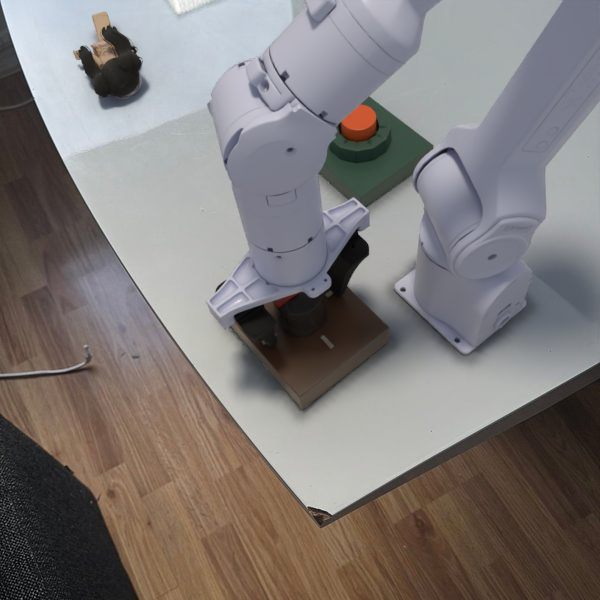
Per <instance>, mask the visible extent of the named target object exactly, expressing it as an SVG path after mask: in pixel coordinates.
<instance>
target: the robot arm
mask: <svg viewBox="0 0 600 600" xmlns="http://www.w3.org/2000/svg"><path fill="white" fill-rule="evenodd" d="M442 1H443V0H304V3H305V5H306V6H305V7H303V9H302V10H301V11H300V12H299V13H298V14H297V15H296V16H295V17H294V19H293V20H292V21H291V22H290V23H289V24H288V25H287V26H286V27H285V28H284V29H283V30H282V31H281V32H280V34H279V35H278V36H276V38H275V39H274V40H273V41H272V42H271V44H269V45H268V46H267V48H266V49H265V50H264V51H263V52H262V53H261V54H260V55H256V56H254V57H252V58H251V57H250V58H248V59H247V58H246V59H243V60H241V61H239V62H236V63H234V64H233V65H231V66H230V67H229V68H228V69H226V70H225V72H224V73H223V74H222V75H221V76H220V77H219V78H218V79H217V80H216V82H215V84H214V86H213V87H212V90H211V92H210V97H211V99H209V100H208V101H207V103H206V107H207V109H208V112H209V114H210V117H212V121H213V125H214V130H215V133H216V134H215V135H216V137H217V142H218V145H219V150H220V154H221V159H222V162H223V166H224V169H225V171H226V172H227V176H228V179H229V181H230V182H231V191H232V193H233V197H234V200H235V204H236V207H237V211H238V215H239V218H240V223H241V225H242V229H243V232H244V235H245V239H246V242H247V245H248V249H249V250H248V251H247V252H246V253H245V254H244V256H243V257H242V258H241V260H240V262H239V263H238V264H237V266H236V267H235V268H234V269H233V271H232V272H231V273H230V275H228V277H227V278H226V279H225V280H223V281H222V282H220V283H219V284H218V285H217V286H216V288H215V291H214V293H213V294H212V295H210V296H209V297H208V298H207V299H206V300H205V303H206V305H207V308H208V310H209V312H210V314H211V316H212V317H213V318H214V319H215V320H216V322H218V324H219V325H220V326H221V327H222V328H223V330H227V329H228V328H231V325H232V324H234V323H235V321H236V322H237V323H238V325H239V326H240V327H241V328H242V329H243V330H244V332H245V333H246V334H247V335H249V336H250V337H252V338H253V339H256V338H261V339H263V340H264V341H265V343H266V344H267V345H268V346H269V347H270V348H272V347H273V346H275V345H276V344H277V338H276V335H275V325H276V323H277V321H276V320H275V319H274V317H273V316H272V315H271V314H270V313H269V312H268V311H267V310H266V309H265V307H264V304H266V303H269V302H272V301H275V300H278V299H281V298H284V297H287V296H290V295H293V294H296V293H299V292H304V293H306V294H307V295H308V296H309V297H311V298H315V297H318V296H319V295H320V294H322V293H323V292H324V291H326V290H327V289H328V288H329V289H330V290H331V291H332V292H333V293H334V294H335V295H336V296H337V297H338V298H339V297H341V296H342V295H343V294H344V293H345V290H346V288H347V287H349V286H348V285H349V283H350V282H351V281H350V280H351V279H352V276H353V274H354V273H355V272H356V270H357V268H358V267H359V265H360V264H361V263H362V262H363V261H364V260H366V259H367V258H368V257H369V256H370V245H369V243H368V242H367V240H366V239H365V238H363V237H362V236H361V235H360V234H359V232H363V231H365V230H366V229H368V228H369V227H370V226H371V224H370V223H371V215H370V214H371V212H370V209H368V208H367V207H364V206H363V205H362V204H361V203H360V202H359V201H358V200H356V199H355V198H354V197H353V198H351V199H350V200H349V199H347V201H345V202H343V203H341V204H339V205H336V206H333V207H330V208H327V209H324V210H323V204H322V203H323V202H322V194H321V184H320V174H319V172H320V170H321V169H322V167H323V165H324V163H325V160H326V157H327V149H328V146H329V144H330V143H331V142H332V141H333V140H334V139H335V138H336V136H335V134H336V133H337V129H336V127H337V125H338V124H339V123H340V122H341V121H343V120H344V119H345V118H346V117H347V116H348V115H349V114H350V113H351V112H353V111H354V110H355V109H356V108H357V107H358V106H359V105H360V104H361V103H362V102H364V101H365V100H366V99H367V98H368V97H371V95H373V94H374V93H375V92H376V91H377V90H378V89H379V88H380V87H381V86H383V84H385V83H386V82H387V81H388V80H389V79H390V78H391V77H392V76H393V75H394V74H395V73H397V72H398V71H399V70H400V69H401V68H403V66H404V65H406V63H408V61H410V60H411V59H412V58H413V57H414V56H415V55H417V53H418V52H419V50H420V47H421V44H422V43H421V42H422V36H423V30H424V23H425V19H426V16H427V13H428V12H430V11H432V9H434V8H435V7H436V6H437V5H438V4H439V3H440V2H442ZM599 103H600V0H562V1H561V3H560V4H559V6H558V7H557V9H556V10H555V11H554V13H553V14H552V15H551V18H550V19H549V20H548V22H547V23H546V25H545V27H544V28H543V30H542V31H541V32H540V34H539V35H538V37H537V38H536V40H535V42H533V44H532V46H531V47H530V49H529V50H528V52H527V53H526V55H525V57H524V58H523V60H522V61H521V62H520V64H519V65H518V67H517V69H516V70H515V71H514V73H513V74H512V76H511V77H510V79H509V81H508V82H506V85H505V86H504V88H503V89H502V91H501V92H500V94H499V95H498V97H497V98H496V99H495V101H494V103H493V104H492V106H491V107H490V108H489V110H488V112H487V114H485V116H484V118H483V119H482V121H481V122H469V123H468V122H467V123H460V124H455V125H452V126H451V127H450V129H449V130H448V132H447V134H446V135H445V137H444V138H443V139H442V140H441V141H440V143H438V144H437V145H435V147H433V150H431V151H430V152H429V153H427V154H426V155H425V156H424V157H423V158H422V159H421V160H420V162H419V163H418V164H417V166H416V167H415V169H414V172H413V174H412V175H411V176H412V177H411V183H412V186H413V188H414V190H415V192H416V193H417V194H418V195H419V197H420V199H421V202H422V204H423V215H422V218H421V221H420V225H419V233H418V240H417V241H418V243H417V253H416V260H415V261H416V263H415V267H414V269H412V270H411V271H410V272H408V273H406V275H404V276H403V277H402V278H401V279H399V280H398V281H396V282H395V283H394V285H393V290H394V291H395V292H396V294H397V295H399V296H400V297H401V298H402V299H403V300H404V301H405V302H406V303H407V304H408V305H409V306H411V308H412V309H414V310H415V311H416V312H417V313H418V314H419V315H420V316H421V317H422V318H423V319H424V320H425V321H427V323H428V324H429V325H431V327H432V328H434V329H435V330H436V331H437V332H438V333H439V334H440V335H441V336H442V337H443V338H444V339H446V341H448V343H449V344H451V345H452V346H453V347H454V348H455V349H456V350H457V351H459V353H460V354H462V355H469V354H470V353H472V352H473V351H475V349H476V348H477V347H479V346H480V345H481V344H483V343H484V342H485V341H486V340H487V339H488V338H490V337H491V336H492V335H493V334H494V333H496V332H497V331H498V330H500V329H501V328H502V327H504V325H506V324H507V323H508V322H509V321H510V320H511V319H512V318H514V317H515V316H516V315H517V314H519V313H520V312H522V310H523V309H525V308H526V306H527V300H526V297H527V294H528V291H529V289H530V286H531V284H532V281H533V278H534V271H533V270H532V269H531V268H530V267H529V266H528V265H527V264H526V262H524V261H523V259H522V258H523V257H524V255H525V254H526V252H527V251H528V249H529V248H530V246H531V244H532V239H533V236H534V234H535V232H536V231H537V229H538V228H539V226H541V224H543V222H544V221H545V220H546V218H547V187H546V186H547V183H546V182H547V181H546V169H547V167H548V165H549V164H550V163H551V161H552V160H553V159H554V158H555V156H556V155H557V154H558V153H559V152H560V150H561V149H562V148H563V147H564V145H565V144H566V143H567V142H568V141H569V140H570V138H571V137H572V136H573V135H574V134H575V132H576V131H577V130H578V128H580V127H581V125H582V123H583V122H584V121H585V120H586V119H587V117H588V116H589V115H590V114H591V113H592V111H593V110H594V109H595V108H596V106H597V105H598V104H599ZM402 290H404V291H402ZM455 340H457V341H459V342H457V341H455Z"/></svg>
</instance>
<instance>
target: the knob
mask: <svg viewBox="0 0 600 600" xmlns="http://www.w3.org/2000/svg"><path fill="white" fill-rule="evenodd" d="M272 302H273V306H274V310H275V314H276V317H277V321H278V324H279V326H280V327H281V328H282V329H283V330H284V331H285V332H286V333H288V334H290V335H293V336H301V337H302V336H308V335H311V334H313V333H315V332H316V331H318V330H319V329H320V328H321V327H322V325H323V323H324V322H325V319H326V307H325V300H324V292H323V293H322V294H320V295H319V296H318V297H315V298H311V297H309V296H308V295H307V294H306V293H304V292H299V293H296V294H293V295H290V296H287V297H284V298H281V299H278V300H275V301H272Z"/></svg>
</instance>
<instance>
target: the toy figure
mask: <svg viewBox="0 0 600 600" xmlns="http://www.w3.org/2000/svg"><path fill="white" fill-rule="evenodd" d="M91 19H92V22H93V25H94V26H93V27H94V29H95V32H96V37H97V41H98V42H95V43H92V44H91V45H90V47H91V49H92V50H91V49H90V47H88V46H87V45H84V44H83V45H80V47H79V49H77V50H75V49H73V50H72V54H73V56H74V57H75V60H76V61H81V66H82V69H83V70H84V73H85V75H86V76H87V77H89V78H90V79H91V80H92V82H91V84H92V86H93V90H94V93H95V94H96V95H98V98H100V99H104V98H108V97H110V96H112V97H115V98H118V99H122V100H125V99H128V98H130V97H131V96H132V95H134V94H135V93H136V92H138V90H140V88H141V86H142V82H143V81H142V76H141V74H140V70H141V69H142V65H143V58H142V57H141V56H139V55H138V54H137V52H138V50H139V49H138V47H136V46H135V45H134V44H133V42H131V39H130V38H129V37H128V36H126V35H124V33H122V32H120V31H119V30H118V28H117V27H116V26H115V25H112V24H111V20H110V18H109V14H108V12H107V11H102V12H101V11H100V12H98V13H94V14H92V15H91ZM92 51H93V52H92Z"/></svg>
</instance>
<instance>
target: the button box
mask: <svg viewBox="0 0 600 600" xmlns="http://www.w3.org/2000/svg"><path fill="white" fill-rule="evenodd" d="M360 105H365V106H368V107H370V108H372V109H373V110H374V112H375V114H376V132H375V134H374V135H373V136H372V137H371V138H370V139H368V140H366V141H361V142H354V141H350V140H348V139H346V138H345V137H344V136H343V134H342V131H341V122H340V123H339V124H338V125H337V127H336V129H337V133H336V134H335V136H336V138H335V139H334V140H333V141H332V142H331V143H330V144H329V146H328V149H327V157H326V160H325V163H324V165H323V167H322V169H321V170H320V172H319V173H318V174H319V176H321V177H323V179H325V180H326V181H327V182H328V183H329V184H330V185H331V186H332V187H334V188H335V189H336V190H337V191H338V192H339V193H340V194H342V195H343V196H344V197H345V198H346V199H347V200H350V199H351V198H353V197H354V198H355V199H356V200H358V201H359V202H360V203H361V204H362V205H363V206H364V207H365V208H367V207H368V206H369V205H371V204H372V203H374V202H375V201H377V200H378V199H379V198H381V197H383V196H384V195H385V194H387V193H388V192H389V191H390V190H392V189H393V188H395V187H396V186H397V185H399V184H400V183H402V182H403V181H405V180H406V179H408V178H409V177H410V176H412V175H413V172H414V169H415V167H416V166H417V164H418V163H419V162H420V160H421V159H422V158H423V157H424V156H425V155H426V154H427V153H429V152H430V151H431V150H433V149H434V148H435V147H434V144H432V143H431V142H430V141H429V140H428V139H426V138H425V137H423V136H422V135H421V134H419V132H417V131H415V130H414V129H413V128H411V127H410V126H409V125H408V124H406V123H405V122H404V121H402V120H401V119H400V118H398V117H397V116H396V115H395V114H393V113H392V112H391V111H389V110H388V109H387V108H385V107H384V106H383V105H381V104H380V103H379V102H377V101H376V100H375V99H374V98H372V97H371V96H369V97H368V98H367V99H366V100H365V101H364V102H362V103H361V104H360Z"/></svg>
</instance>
